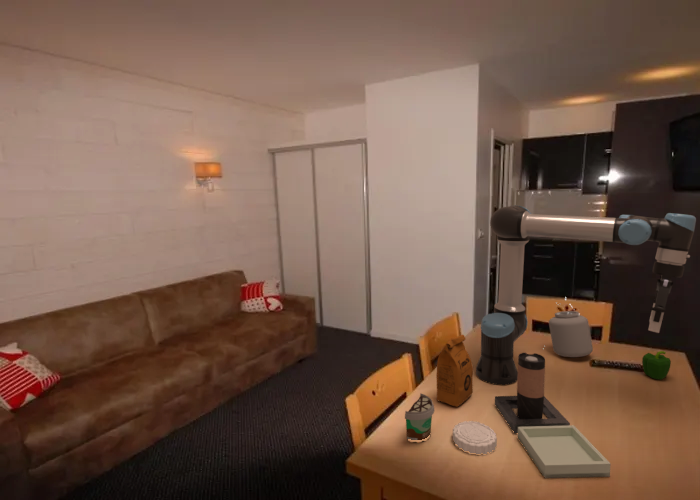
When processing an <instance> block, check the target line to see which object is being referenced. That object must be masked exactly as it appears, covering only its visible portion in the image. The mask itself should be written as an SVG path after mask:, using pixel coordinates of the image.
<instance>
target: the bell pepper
mask: <svg viewBox="0 0 700 500" xmlns="http://www.w3.org/2000/svg"><path fill="white" fill-rule="evenodd" d="M665 355H666V351H664V350H660V351H657V352H656V354H653V353H650V352H647V353H646V354H644V355H643V357H642V360H641V363H642V368H643V369H642V370H643V372H644V374H645V375H646V376H648V377H650V378H652V379H653V380H654V379H655V380H661V381H662V380H663V379H665V378H666V377H667V376H668V374H669V371H670V368H671V365H672V364H671V362H672V361H671V359H670V357H666V356H665Z"/></svg>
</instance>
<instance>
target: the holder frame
mask: <svg viewBox="0 0 700 500" xmlns="http://www.w3.org/2000/svg"><path fill="white" fill-rule="evenodd" d="M495 405H496V406H497V407H496V406H495ZM494 406H495V407H496V409H497V408H498V409H499V410H498V409H497V410H498V412H499V411H500V412H501V413H500V412H499V413H500V415H501V414H502V415H503V416H502V415H501V416H502V418H503V417H504V418H503V420H504V421H505V420H506V421H507V422H506V421H505V422H506V424H507V423H508V424H509V425H508V424H507V425H508V427H509V426H510V427H511V428H510V427H509V428H510V429H512V430H513V431H514V433H518V427H531V426H568V425H570V421H569V420H568V419H567V418H566V417H564V415H562V413H561V412H560V411H559V410H558V409H557V408H556V407H555V406H554V405H553V404H552V402H551V401H550V400H548V398H546V396H545V395H544V403H543V415H544V416H545V417H547V418H542V419H519V418H518V416H517V413H515V411H514V410H513V409H517V395H499V396H498V395H495V396H494ZM512 430H511V431H512ZM513 431H512V432H513ZM514 433H513V434H514Z"/></svg>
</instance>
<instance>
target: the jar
mask: <svg viewBox="0 0 700 500" xmlns="http://www.w3.org/2000/svg"><path fill="white" fill-rule="evenodd" d="M564 300H565V301H567V297H566V296H565V298H564ZM555 303H556V304H557V303H558V302H555ZM559 304H560V305H561V303H559ZM559 304H557V305H558V306H559ZM571 304H572V303H569V305H570V307H571V308H572V309H573V305H571ZM580 314H581V313H579V311H576V310H575V309H573V310H567V311H566V310H565V311H564V310H563V311H559V312H555V313H554V316H553V317H552V318H550V319H549V320H548V326H549V332H550V338H551V345H552V349H553V352H554V353H555V354H556V355H557V356H561V357H567V358H579V357H580V358H581V357H585V356H588V355H590V354H591V353H592V352H593V350H594V349H593V348H594V347H593V341H592V335H591V329H590V324H589V319H588V318H587V317H585V316H584V315H582V314H581V315H580ZM544 347H546V346H545V345H544ZM542 349H543V350H544V348H542Z"/></svg>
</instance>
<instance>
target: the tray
mask: <svg viewBox="0 0 700 500" xmlns="http://www.w3.org/2000/svg"><path fill="white" fill-rule="evenodd" d="M517 437H518V438H517V440H518V439H519V440H520V441H519V440H518V441H519V442H521V443H522V444H523V445H522V444H521V443H520V444H521V445H522V447H523V446H524V447H525V448H524V447H523V448H524V450H525V449H526V450H527V451H526V450H525V451H526V452H528V453H529V454H528V453H527V454H528V456H529V455H530V456H529V457H530V459H531V458H532V459H533V460H532V459H531V460H532V462H533V461H534V462H533V463H534V465H535V464H536V465H535V466H536V468H537V467H538V468H537V469H538V471H539V470H540V471H539V472H540V473H542V474H541V475H542V477H543V476H544V477H545V478H544V477H543V478H544V479H561V478H562V479H565V478H566V479H567V478H568V479H569V478H600V477H601V478H602V477H603V478H604V477H605V478H607V477H609V478H610V476H611V467H612V466H611V462H610V461H609V460H608V459H607V458H606V457H605V456H604V455H603V454H602V453H601V452H600V451H599V450H598V449H597V448H596V447H595V446H594V445H593V444H592V442H591V441H589V439H588V438H587V437H586V436H585V435H584V434H583V433H582V432H581V431H580V430H579V429H578V428H577V427H576V425H572V424H571V425H568V426H531V427H518V434H517Z"/></svg>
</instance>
